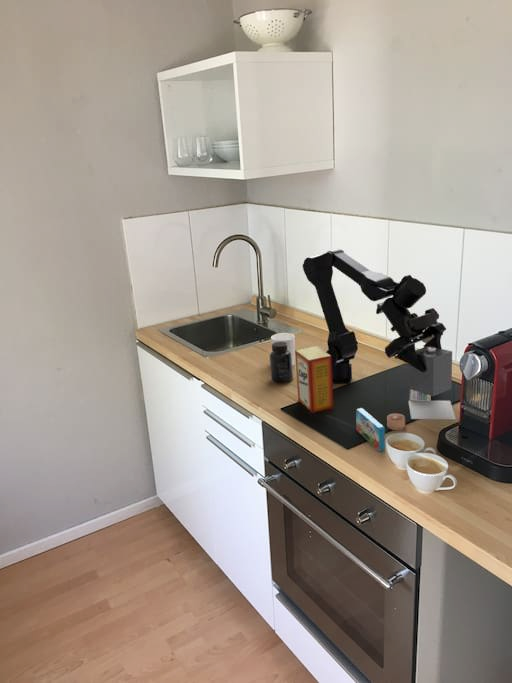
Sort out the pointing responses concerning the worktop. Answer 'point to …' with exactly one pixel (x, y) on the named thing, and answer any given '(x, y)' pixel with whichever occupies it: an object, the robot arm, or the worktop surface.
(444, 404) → the grey rubber mat
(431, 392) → the charcoal cover canister
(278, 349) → the supplement bottle
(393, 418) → the terracotta bowl
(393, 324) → the robot arm
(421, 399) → the syrup box
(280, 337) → the white cup
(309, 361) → the baking soda box
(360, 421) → the light blue carton
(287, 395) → the worktop surface
